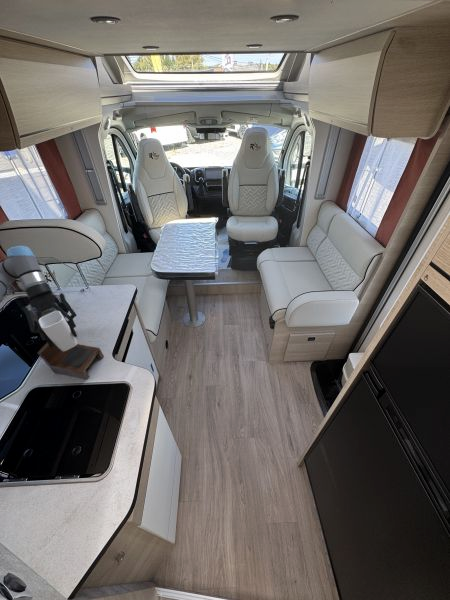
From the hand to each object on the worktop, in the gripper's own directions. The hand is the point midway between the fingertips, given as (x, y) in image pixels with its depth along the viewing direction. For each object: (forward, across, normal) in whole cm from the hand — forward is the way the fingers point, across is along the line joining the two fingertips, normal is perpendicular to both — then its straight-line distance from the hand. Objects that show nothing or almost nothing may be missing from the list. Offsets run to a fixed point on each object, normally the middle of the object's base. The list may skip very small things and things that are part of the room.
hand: (64, 341), depth 95 cm
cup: (+2, 0, -6) cm, 7 cm away
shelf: (+10, +1, -17) cm, 20 cm away
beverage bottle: (-4, +4, -32) cm, 32 cm away
